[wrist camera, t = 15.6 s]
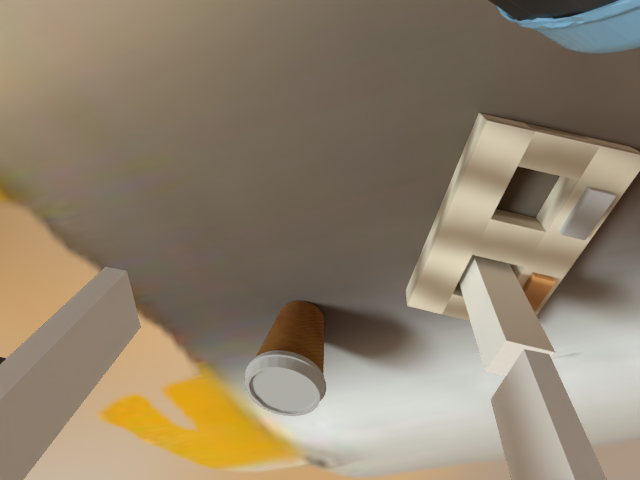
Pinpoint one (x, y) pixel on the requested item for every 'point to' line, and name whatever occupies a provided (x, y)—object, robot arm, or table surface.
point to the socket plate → (515, 229)
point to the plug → (500, 315)
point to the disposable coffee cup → (290, 362)
